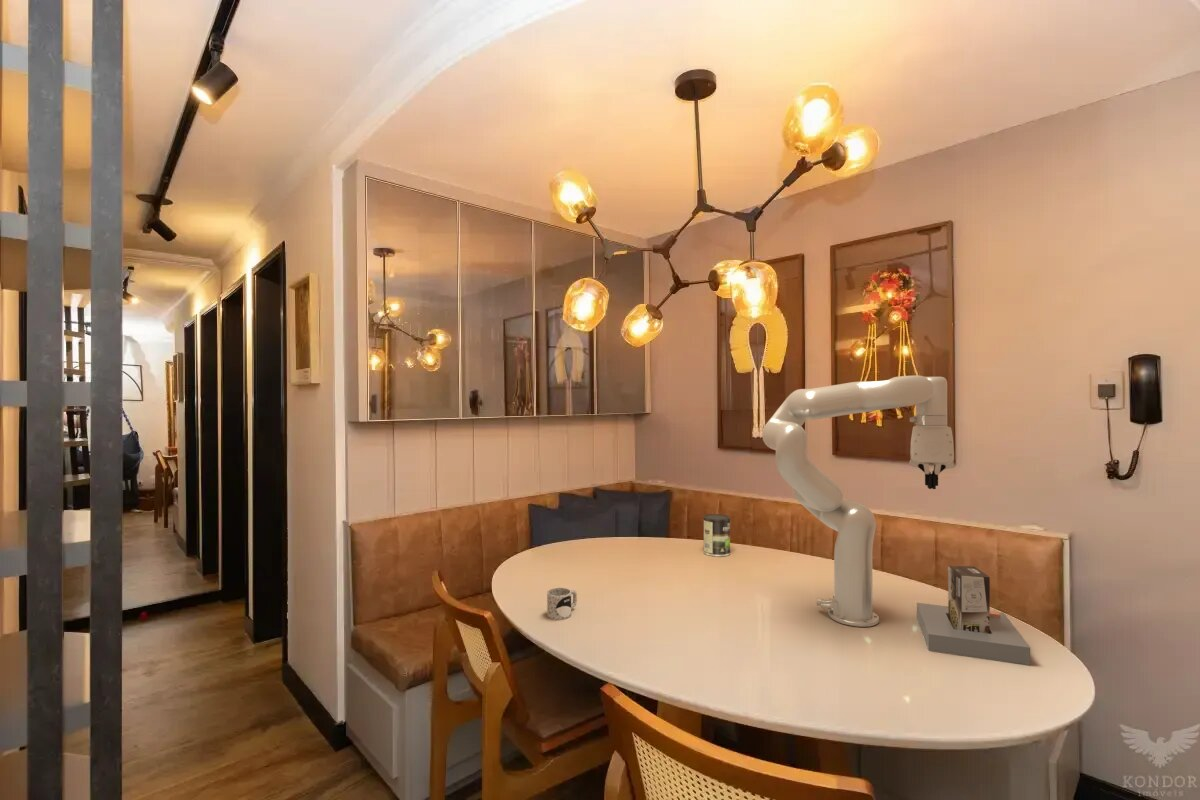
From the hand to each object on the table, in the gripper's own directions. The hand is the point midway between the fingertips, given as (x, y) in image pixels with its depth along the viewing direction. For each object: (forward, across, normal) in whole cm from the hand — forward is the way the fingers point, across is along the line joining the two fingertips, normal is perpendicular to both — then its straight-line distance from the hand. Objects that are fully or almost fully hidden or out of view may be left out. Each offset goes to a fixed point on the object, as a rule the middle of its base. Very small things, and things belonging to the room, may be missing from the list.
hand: (931, 488), depth 157 cm
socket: (+35, +6, -14) cm, 38 cm away
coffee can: (+35, -67, +41) cm, 86 cm away
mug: (+35, -95, -36) cm, 108 cm away
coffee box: (+34, +6, -14) cm, 38 cm away
